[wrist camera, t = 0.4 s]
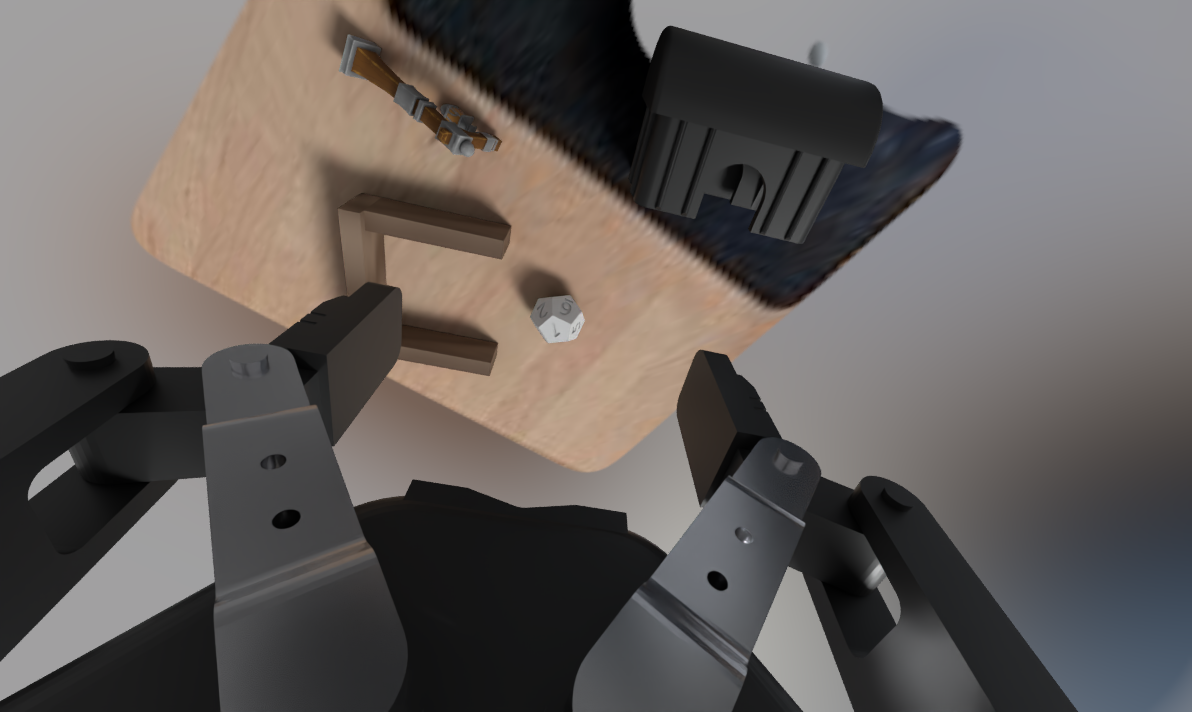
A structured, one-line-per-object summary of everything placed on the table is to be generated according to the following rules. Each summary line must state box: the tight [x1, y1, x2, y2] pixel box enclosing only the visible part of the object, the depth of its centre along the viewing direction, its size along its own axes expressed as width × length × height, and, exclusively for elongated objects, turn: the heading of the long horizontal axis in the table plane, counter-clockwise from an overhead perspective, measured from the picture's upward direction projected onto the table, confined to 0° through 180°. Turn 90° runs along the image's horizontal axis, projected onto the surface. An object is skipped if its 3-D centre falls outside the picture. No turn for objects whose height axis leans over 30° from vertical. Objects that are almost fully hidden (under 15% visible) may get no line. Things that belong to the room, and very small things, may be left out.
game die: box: [530, 295, 585, 343], centre depth 31 cm, size 4×4×3 cm
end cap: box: [628, 26, 883, 244], centre depth 22 cm, size 10×7×7 cm
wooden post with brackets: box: [339, 34, 502, 157], centre depth 24 cm, size 2×8×4 cm, turn 58°
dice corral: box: [338, 193, 511, 376], centre depth 30 cm, size 10×9×3 cm
